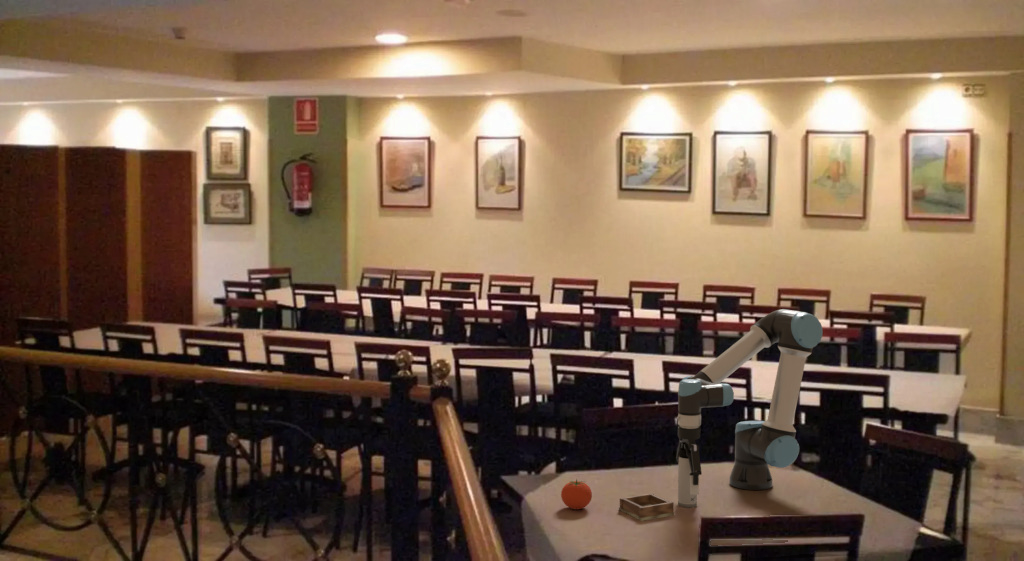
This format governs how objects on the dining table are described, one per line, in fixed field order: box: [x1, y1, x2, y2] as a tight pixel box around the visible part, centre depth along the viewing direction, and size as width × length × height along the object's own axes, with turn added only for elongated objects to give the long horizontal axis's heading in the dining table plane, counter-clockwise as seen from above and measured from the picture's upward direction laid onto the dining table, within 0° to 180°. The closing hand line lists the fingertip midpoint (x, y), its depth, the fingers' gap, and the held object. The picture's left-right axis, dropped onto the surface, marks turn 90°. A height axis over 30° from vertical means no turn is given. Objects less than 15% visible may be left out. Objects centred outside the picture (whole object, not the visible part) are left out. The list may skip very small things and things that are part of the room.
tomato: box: [560, 478, 593, 510], centre depth 347 cm, size 10×10×10 cm
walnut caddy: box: [618, 493, 675, 522], centre depth 343 cm, size 13×13×4 cm
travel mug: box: [677, 448, 698, 509], centre depth 350 cm, size 6×7×20 cm
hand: (688, 488), depth 351 cm, fingers open, 13 cm apart
